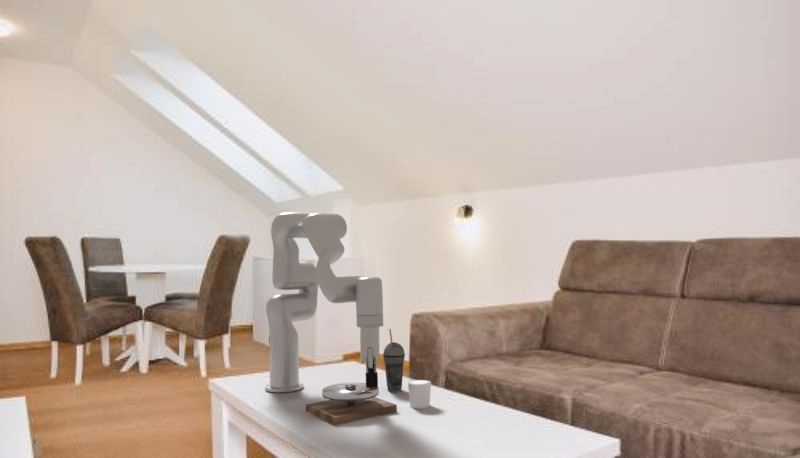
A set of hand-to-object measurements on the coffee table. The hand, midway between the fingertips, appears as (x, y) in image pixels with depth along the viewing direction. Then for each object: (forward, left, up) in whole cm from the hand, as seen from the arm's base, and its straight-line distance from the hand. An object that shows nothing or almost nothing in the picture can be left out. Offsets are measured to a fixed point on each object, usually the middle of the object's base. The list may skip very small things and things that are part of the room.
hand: (371, 386), depth 161 cm
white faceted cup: (+1, +16, -8) cm, 18 cm away
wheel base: (-6, -3, -8) cm, 11 cm away
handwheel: (-6, -3, -3) cm, 8 cm away
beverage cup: (-19, +21, -8) cm, 29 cm away
